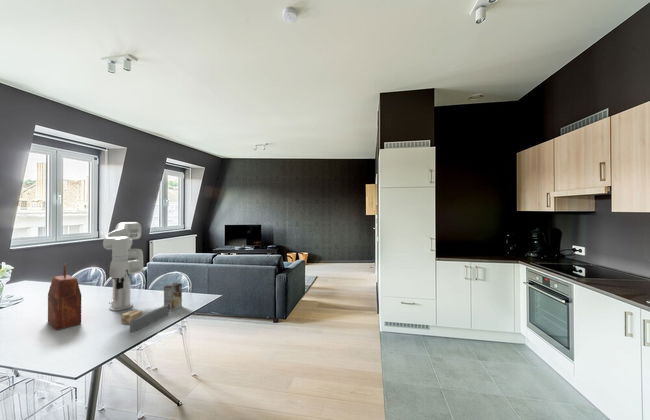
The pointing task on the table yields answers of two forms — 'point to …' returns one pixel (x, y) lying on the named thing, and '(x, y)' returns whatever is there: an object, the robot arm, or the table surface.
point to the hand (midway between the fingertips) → (119, 288)
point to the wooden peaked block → (64, 302)
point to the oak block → (130, 316)
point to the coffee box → (173, 296)
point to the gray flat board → (148, 318)
